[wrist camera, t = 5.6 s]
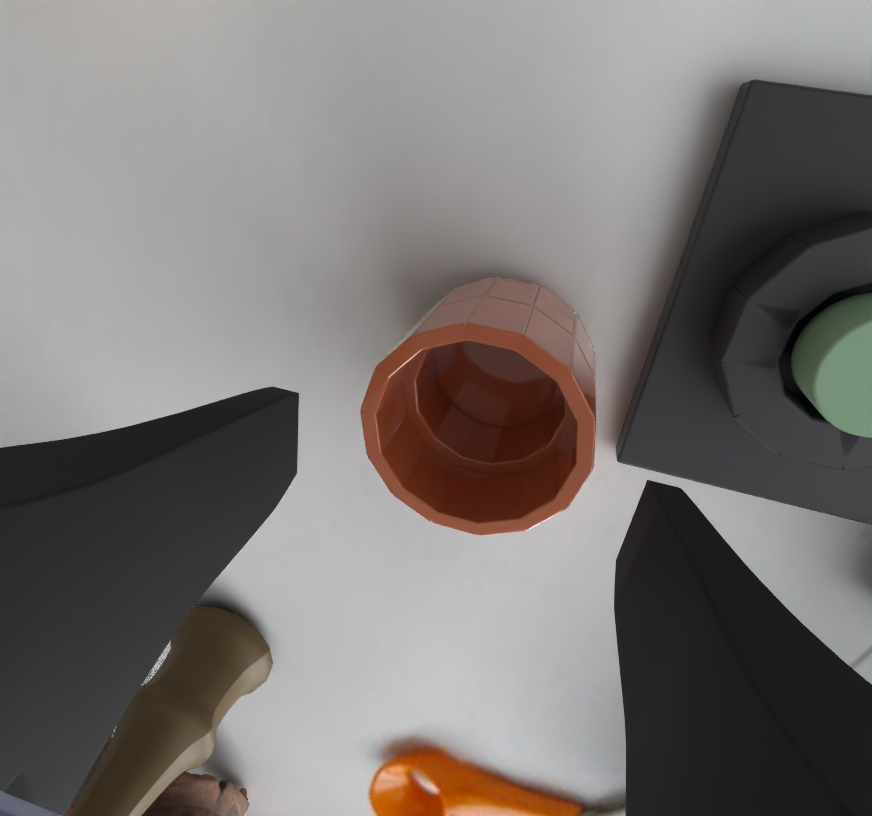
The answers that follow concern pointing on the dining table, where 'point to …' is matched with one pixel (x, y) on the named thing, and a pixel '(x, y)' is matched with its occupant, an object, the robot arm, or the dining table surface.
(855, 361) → the tare button
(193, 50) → the dining table surface
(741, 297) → the pad
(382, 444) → the terracotta flower pot
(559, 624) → the dining table surface
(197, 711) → the kendama
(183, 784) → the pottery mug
